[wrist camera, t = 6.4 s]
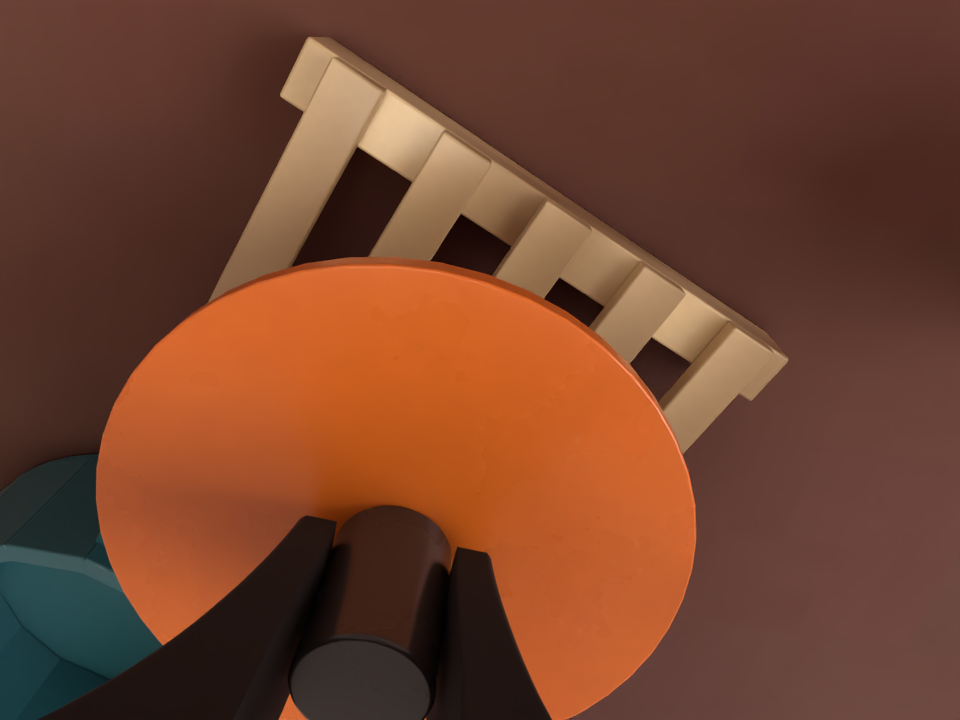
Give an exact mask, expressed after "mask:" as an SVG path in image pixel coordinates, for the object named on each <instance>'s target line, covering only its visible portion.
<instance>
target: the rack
mask: <svg viewBox="0 0 960 720" xmlns="http://www.w3.org/2000/svg"><path fill="white" fill-rule="evenodd" d="M280 96H281V97H282V98H283V99H284V100H286V101H287V102H289V103H290V104H292V105H294V106H295V107H297V108H298V109H300V110H301V111H303V112H304V113H303V115H302V117H301V119H300V121H299V123H298V125H297V127H296V129H295V131H294V133H293V135H292V137H291V139H290V141H289V142H288V144H287V146H286V148H285V150H284V152H283V154H282V156H281V158H280V160H279V162H278V164H277V166H276V168H275V170H274V172H273V174H272V176H271V178H270V180H269V182H268V184H267V186H266V188H265V190H264V192H263V194H262V196H261V198H260V200H259V202H258V204H257V206H256V208H255V210H254V212H253V214H252V216H251V218H250V220H249V222H248V224H247V226H246V228H245V230H244V232H243V234H242V236H241V238H240V240H239V242H238V243H237V245H236V247H235V249H234V251H233V253H232V255H231V257H230V259H229V261H228V263H227V265H226V267H225V269H224V271H223V273H222V275H221V277H220V279H219V281H218V283H217V285H216V287H215V289H214V291H213V293H212V295H211V297H210V299H209V301H208V303H209V302H210V301H212V300H214V299H215V298H217V297H218V296H220V295H222V294H223V293H225V292H226V291H228V290H231V289H233V288H235V287H238V286H240V285H242V284H245V283H247V282H249V281H251V280H254V279H256V278H258V277H261V276H263V275H266V274H269V273H273V272H276V271H280V270H284V269H287V268H291V267H292V265H293V263H294V261H295V259H296V257H297V256H298V254H299V252H300V250H301V248H302V246H303V245H304V243H305V241H306V239H307V237H308V236H309V234H310V232H311V230H312V228H313V226H314V225H315V223H316V221H317V219H318V217H319V215H320V214H321V212H322V210H323V208H324V206H325V204H326V203H327V201H328V199H329V197H330V195H331V194H332V192H333V190H334V188H335V186H336V184H337V183H338V181H339V179H340V177H341V175H342V173H343V172H344V170H345V168H346V166H347V164H348V163H349V161H350V159H351V157H352V155H353V153H354V152H355V150H356V148H357V147H358V148H360V149H361V150H363V151H365V152H366V153H368V154H369V155H371V156H372V157H374V158H375V159H377V160H378V161H380V162H382V163H383V164H385V165H386V166H388V167H389V168H391V169H392V170H394V171H395V172H397V173H398V174H400V175H402V176H403V177H405V178H406V179H408V180H409V181H411V182H412V184H411V186H410V187H409V189H408V191H407V192H406V194H405V196H404V197H403V199H402V201H401V202H400V204H399V206H398V207H397V209H396V211H395V212H394V214H393V216H392V218H391V219H390V221H389V223H388V224H387V226H386V228H385V229H384V231H383V233H382V234H381V236H380V238H379V239H378V241H377V243H376V244H375V246H374V248H373V249H372V251H371V253H370V254H369V256H368V257H400V258H408V259H416V260H425V261H431V259H432V258H433V256H434V255H435V253H436V251H437V250H438V248H439V247H440V245H441V244H442V242H443V240H444V239H445V237H446V236H447V234H448V233H449V231H450V229H451V228H452V226H453V225H454V223H455V222H456V220H457V218H458V217H459V215H460V214H462V215H463V216H465V217H466V218H468V219H469V220H471V221H473V222H474V223H476V224H477V225H479V226H480V227H482V228H483V229H485V230H486V231H488V232H490V233H491V234H493V235H494V236H496V237H497V238H499V239H500V240H502V241H503V242H505V243H507V244H508V245H510V246H511V248H510V250H509V251H508V253H507V254H506V255H505V257H504V258H503V260H502V261H501V263H500V264H499V266H498V267H497V269H496V270H495V272H494V273H493V274H492V276H493V277H495V278H498V279H500V280H503V281H506V282H508V283H511V284H513V285H516V286H518V287H521V288H523V289H526V290H528V291H530V292H532V293H534V294H536V295H538V296H539V297H541V298H543V299H544V298H545V296H546V295H547V293H548V292H549V291H550V289H551V288H552V287H553V285H554V284H555V283H556V281H557V280H558V278H561V279H562V280H564V281H565V282H567V283H568V284H570V285H571V286H573V287H574V288H576V289H578V290H579V291H581V292H582V293H584V294H585V295H587V296H588V297H590V298H591V299H593V300H595V301H596V302H598V303H599V304H601V305H602V306H604V308H603V310H602V311H601V312H600V313H599V315H598V316H597V317H596V319H595V320H594V321H593V322H592V324H591V325H590V326H589V328H590V329H591V330H593V331H594V332H595V333H597V334H598V335H599V336H601V337H602V338H603V339H604V340H605V341H606V342H607V343H608V344H609V345H610V346H611V347H612V348H613V349H614V350H615V351H616V352H617V353H618V354H619V355H620V356H622V357H623V358H624V359H625V360H626V361H627V362H628V363H629V364H630V363H631V361H632V360H633V359H634V358H635V357H636V355H637V354H638V353H639V352H640V350H641V349H642V348H643V347H644V346H645V344H646V343H647V342H648V341H649V340H650V338H651V337H652V338H653V339H655V340H656V341H658V342H659V343H661V344H662V345H664V346H666V347H667V348H669V349H670V350H672V351H673V352H675V353H676V354H678V355H679V356H681V357H683V358H684V359H686V360H687V361H689V362H690V363H692V364H691V365H690V366H689V367H688V369H687V370H686V371H685V372H684V373H683V374H682V375H681V377H680V378H679V379H678V380H677V381H676V382H675V384H674V385H673V386H672V387H671V388H670V389H669V390H668V392H667V393H666V394H665V395H664V396H663V397H662V399H661V400H660V401H659V402H658V404H659V405H660V407H661V409H662V411H663V412H664V414H665V416H666V418H667V420H668V421H669V423H670V425H671V427H672V429H673V431H674V434H675V436H676V439H677V441H678V444H679V447H680V449H681V452H682V455H683V453H684V452H685V451H686V450H687V449H688V448H689V447H690V446H691V445H692V444H693V443H694V441H695V440H696V439H697V438H698V437H699V436H700V435H701V434H702V433H703V432H704V431H705V430H706V428H707V427H708V426H709V425H710V424H711V423H712V422H713V421H714V420H715V419H716V418H717V416H718V415H719V414H720V413H721V412H722V411H723V410H724V409H725V408H726V407H727V406H728V405H729V403H730V402H731V401H732V400H733V399H734V398H735V397H736V396H737V395H738V394H740V395H741V396H743V397H744V398H746V399H747V400H750V401H751V400H752V399H753V398H754V397H755V396H756V395H757V394H758V393H759V392H760V391H761V390H762V389H763V388H764V387H765V386H766V384H767V383H768V382H769V381H770V380H771V379H772V378H773V377H774V376H775V375H776V374H777V373H778V372H779V371H780V369H781V368H782V367H783V366H784V365H785V364H786V363H787V362H788V360H789V359H788V357H787V356H786V355H785V354H784V353H783V352H782V350H781V349H780V348H779V347H778V346H777V345H776V343H775V342H774V341H773V340H772V339H771V338H770V336H769V335H768V334H767V333H766V332H765V331H763V330H762V329H760V328H759V327H757V326H756V325H754V324H753V323H752V322H750V321H749V320H747V319H746V318H744V317H743V316H741V315H740V314H738V313H737V312H735V311H734V310H732V309H731V308H729V307H728V306H726V305H725V304H723V303H722V302H720V301H719V300H718V299H716V298H715V297H713V296H712V295H710V294H709V293H707V292H706V291H704V290H703V289H701V288H700V287H698V286H697V285H695V284H694V283H692V282H691V281H689V280H688V279H686V278H685V277H684V276H682V275H681V274H679V273H678V272H676V271H675V270H673V269H672V268H670V267H669V266H667V265H666V264H664V263H663V262H661V261H660V260H658V259H657V258H655V257H654V256H652V255H651V254H649V253H648V252H647V251H645V250H644V249H642V248H641V247H639V246H638V245H636V244H635V243H633V242H632V241H630V240H629V239H627V238H626V237H624V236H623V235H621V234H620V233H618V232H617V231H615V230H614V229H613V228H611V227H610V226H608V225H607V224H605V223H604V222H602V221H601V220H599V219H598V218H596V217H595V216H593V215H592V214H590V213H589V212H587V211H586V210H584V209H583V208H581V207H580V206H579V205H577V204H576V203H574V202H573V201H571V200H570V199H568V198H567V197H565V196H564V195H562V194H561V193H559V192H558V191H556V190H555V189H553V188H552V187H550V186H549V185H547V184H546V183H545V182H543V181H542V180H540V179H539V178H537V177H536V176H534V175H533V174H531V173H530V172H528V171H527V170H525V169H524V168H522V167H521V166H519V165H518V164H516V163H515V162H513V161H512V160H510V159H509V158H508V157H506V156H505V155H503V154H502V153H500V152H499V151H497V150H496V149H494V148H493V147H491V146H490V145H488V144H487V143H485V142H484V141H482V140H481V139H479V138H478V137H476V136H475V135H474V134H472V133H471V132H469V131H468V130H466V129H465V128H463V127H462V126H460V125H459V124H457V123H456V122H454V121H453V120H451V119H450V118H448V117H447V116H445V115H444V114H442V113H441V112H440V111H438V110H437V109H435V108H434V107H432V106H431V105H429V104H428V103H426V102H425V101H423V100H422V99H420V98H419V97H417V96H416V95H414V94H413V93H411V92H410V91H408V90H407V89H406V88H404V87H403V86H401V85H400V84H398V83H397V82H395V81H394V80H392V79H391V78H389V77H388V76H386V75H385V74H383V73H382V72H380V71H379V70H377V69H376V68H374V67H373V66H371V65H370V64H369V63H367V62H366V61H364V60H363V59H361V58H360V57H358V56H357V55H355V54H354V53H352V52H351V51H349V50H348V49H346V48H345V47H343V46H342V45H340V44H339V43H337V42H336V41H335V40H333V39H332V38H330V37H308V38H307V39H306V41H305V43H304V45H303V48H302V50H301V52H300V54H299V56H298V58H297V60H296V62H295V64H294V66H293V68H292V70H291V72H290V74H289V76H288V78H287V80H286V83H285V85H284V87H283V89H282V91H281V93H280Z"/></svg>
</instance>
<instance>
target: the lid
mask: <svg viewBox="0 0 960 720" xmlns="http://www.w3.org/2000/svg"><path fill="white" fill-rule="evenodd" d="M96 504H97V511H98V518H99V525H100V532H101V535H102V538H103V542H104V545H105V548H106V552H107V555H108V558H109V561H110V564H111V566H112V568H113V570H114V572H115V575H116V577H117V579H118V581H119V583H120V585H121V588H122V590H123V592H124V593H125V595H126V596H127V598H128V600H129V601H130V603H131V604H132V606H133V607H134V609H135V611H136V612H137V614H138V615H139V617H140V618H141V620H142V621H143V622H144V623H145V624H146V626H147V627H148V628H149V629H150V631H151V632H152V633H153V634H154V635H155V637H156V638H157V639H158V640H159V642H160V643H161V644H162V645H164V644H166V643H167V642H169V641H170V640H171V639H173V638H174V637H175V636H177V635H178V634H179V633H181V632H182V631H184V630H185V629H186V628H187V627H189V626H190V625H191V624H193V623H194V622H195V621H196V620H198V619H199V618H200V617H201V616H203V615H204V614H205V613H206V612H208V611H209V610H210V609H211V608H212V607H213V606H214V605H216V604H217V603H218V602H219V601H220V600H221V599H223V598H224V597H225V596H226V595H227V594H228V593H229V592H231V591H232V590H233V589H234V588H235V587H236V586H237V585H238V584H240V583H241V582H242V581H243V580H244V579H245V578H246V577H247V576H248V575H249V574H250V573H251V572H252V571H253V570H254V569H255V568H256V567H257V566H258V565H259V564H260V563H261V562H262V561H263V560H264V559H265V558H266V557H267V556H268V555H269V554H270V553H271V552H272V551H273V550H274V549H275V548H276V546H277V545H278V544H279V543H280V542H281V541H282V540H283V539H284V538H285V536H286V535H287V534H288V533H289V532H290V530H291V529H292V528H293V527H294V526H295V524H296V523H297V522H298V520H299V519H300V518H302V517H304V516H306V515H308V516H313V517H318V518H323V519H328V520H332V521H337V524H336V530H335V536H334V542H333V548H332V551H331V554H330V557H329V560H328V563H327V565H326V568H325V571H324V574H323V577H322V580H321V582H320V585H319V588H318V590H317V593H316V595H315V598H314V601H313V604H312V606H311V609H310V612H309V615H308V618H307V620H306V623H305V626H304V629H303V632H302V634H301V637H300V640H299V643H298V646H297V648H296V651H295V654H294V657H293V660H292V662H291V665H290V668H289V672H288V687H289V692H290V695H289V697H288V699H287V702H286V704H285V706H284V709H283V711H282V713H281V716H280V718H279V720H426V717H427V715H428V714H429V712H430V711H431V709H432V707H433V704H434V701H435V693H436V685H437V676H438V668H439V660H440V651H441V643H442V635H443V626H444V617H445V607H446V599H447V591H448V582H449V575H450V571H451V567H452V564H453V560H454V556H455V552H456V549H457V547H462V548H467V549H471V550H476V551H481V552H486V553H488V555H489V556H490V558H491V561H492V566H493V571H494V575H495V579H496V583H497V587H498V590H499V594H500V597H501V600H502V604H503V607H504V610H505V613H506V616H507V619H508V622H509V624H510V627H511V630H512V633H513V635H514V638H515V641H516V643H517V646H518V648H519V651H520V653H521V656H522V658H523V661H524V663H525V665H526V667H527V670H528V672H529V674H530V677H531V679H532V681H533V683H534V685H535V687H536V689H537V692H538V694H539V696H540V698H541V700H542V702H543V704H544V705H545V707H546V709H547V711H548V713H549V715H550V717H551V719H552V720H567V719H569V718H571V717H573V716H575V715H577V714H579V713H581V712H583V711H584V710H586V709H587V708H589V707H590V706H592V705H594V704H595V703H597V702H598V701H600V700H601V699H603V698H604V697H606V696H607V695H609V694H610V693H611V692H612V691H613V690H615V689H616V688H617V687H618V686H620V685H621V684H622V683H623V682H624V681H626V680H627V679H628V678H629V677H630V676H631V675H632V674H633V673H634V672H635V671H636V670H637V669H638V668H639V667H640V666H641V665H642V663H643V662H644V661H645V660H646V659H647V658H648V657H649V656H650V655H651V654H652V652H653V651H654V650H655V648H656V647H657V645H658V644H659V642H660V641H661V639H662V638H663V636H664V635H665V634H666V632H667V631H668V629H669V628H670V626H671V624H672V621H673V619H674V617H675V615H676V613H677V611H678V609H679V607H680V605H681V603H682V601H683V598H684V595H685V592H686V588H687V585H688V582H689V579H690V575H691V572H692V567H693V560H694V553H695V545H696V505H695V500H694V495H693V490H692V485H691V480H690V475H689V471H688V468H687V465H686V463H685V460H684V457H683V455H682V452H681V449H680V447H679V444H678V441H677V439H676V436H675V434H674V431H673V429H672V427H671V425H670V423H669V421H668V420H667V418H666V416H665V414H664V412H663V411H662V409H661V407H660V405H659V404H658V402H657V400H656V398H655V396H654V395H653V394H652V392H651V391H650V390H649V388H648V387H647V386H646V385H645V383H644V382H643V381H642V379H641V378H640V377H639V376H638V374H637V373H636V372H635V370H634V369H633V368H632V367H631V365H630V364H629V363H628V362H627V361H626V360H625V359H624V358H623V357H622V356H620V355H619V354H618V353H617V352H616V351H615V350H614V349H613V348H612V347H611V346H610V345H609V344H608V343H607V342H606V341H605V340H604V339H603V338H602V337H601V336H599V335H598V334H597V333H595V332H594V331H593V330H591V329H590V328H589V327H587V326H586V325H584V324H583V323H582V322H580V321H579V320H578V319H576V318H575V317H574V316H572V315H571V314H569V313H568V312H567V311H565V310H563V309H561V308H559V307H558V306H556V305H554V304H552V303H550V302H548V301H547V300H545V299H543V298H541V297H539V296H538V295H536V294H534V293H532V292H530V291H528V290H526V289H523V288H521V287H518V286H516V285H513V284H511V283H508V282H506V281H503V280H500V279H498V278H495V277H493V276H490V275H488V274H485V273H481V272H477V271H473V270H469V269H465V268H461V267H457V266H453V265H449V264H445V263H441V262H433V261H425V260H416V259H408V258H400V257H348V258H341V259H334V260H326V261H319V262H312V263H305V264H302V265H298V266H294V267H291V268H287V269H284V270H280V271H276V272H273V273H269V274H266V275H263V276H261V277H258V278H256V279H254V280H251V281H249V282H247V283H245V284H242V285H240V286H238V287H235V288H233V289H231V290H228V291H226V292H225V293H223V294H222V295H220V296H218V297H217V298H215V299H214V300H212V301H210V302H209V303H207V304H206V305H204V306H202V307H201V308H199V309H198V310H196V311H194V312H193V313H192V314H191V315H189V316H188V317H187V318H186V319H185V320H184V321H182V322H181V323H180V324H179V325H178V326H177V327H175V328H174V329H173V330H172V331H171V332H170V333H168V334H167V335H166V336H165V337H164V338H163V339H162V340H160V341H159V342H158V343H157V344H156V345H155V346H154V347H153V348H152V349H151V351H150V352H149V353H148V354H147V355H146V357H145V358H144V359H143V360H142V361H141V363H140V364H139V365H138V366H137V367H136V369H135V370H134V371H133V372H132V374H131V375H130V377H129V379H128V381H127V382H126V384H125V386H124V387H123V389H122V391H121V393H120V394H119V396H118V398H117V400H116V401H115V403H114V406H113V408H112V411H111V414H110V416H109V419H108V422H107V424H106V427H105V430H104V433H103V436H102V441H101V447H100V452H99V457H98V463H97V468H96Z"/></svg>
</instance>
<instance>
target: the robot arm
mask: <svg viewBox="0 0 960 720" xmlns="http://www.w3.org/2000/svg"><path fill="white" fill-rule="evenodd" d="M336 524H337V521H332V520H328V519H323V518H318V517H313V516H308V515H306V516H304V517H302V518H300V519H299V520H298V522H297V523H296V524H295V526H294V527H293V528H292V529H291V530H290V532H289V533H288V534H287V535H286V536H285V538H284V539H283V540H282V541H281V542H280V543H279V544H278V545H277V546H276V548H275V549H274V550H273V551H272V552H271V553H270V554H269V555H268V556H267V557H266V558H265V559H264V560H263V561H262V562H261V563H260V564H259V565H258V566H257V567H256V568H255V569H254V570H253V571H252V572H251V573H250V574H249V575H248V576H247V577H246V578H245V579H244V580H243V581H242V582H241V583H240V584H238V585H237V586H236V587H235V588H234V589H233V590H232V591H231V592H229V593H228V594H227V595H226V596H225V597H224V598H223V599H221V600H220V601H219V602H218V603H217V604H216V605H214V606H213V607H212V608H211V609H210V610H209V611H208V612H206V613H205V614H204V615H203V616H201V617H200V618H199V619H198V620H196V621H195V622H194V623H193V624H191V625H190V626H189V627H187V628H186V629H185V630H184V631H182V632H181V633H179V634H178V635H177V636H175V637H174V638H173V639H171V640H170V641H169V642H167V643H166V644H164V645H163V646H162V647H160V648H159V649H157V650H156V651H154V652H153V653H151V654H150V655H148V656H147V657H145V658H144V659H142V660H141V661H139V662H138V663H136V664H135V665H133V666H132V667H130V668H129V669H127V670H125V671H124V672H122V673H121V674H119V675H117V676H116V677H114V678H112V679H111V680H109V681H107V682H106V683H104V684H102V685H100V686H98V687H97V688H95V689H93V690H91V691H89V692H88V693H86V694H84V695H82V696H81V697H79V698H77V699H75V700H73V701H72V702H70V703H68V704H66V705H64V706H63V707H61V708H59V709H57V710H55V711H53V712H51V713H49V714H47V715H45V716H43V717H41V718H39V719H37V720H279V718H280V716H281V713H282V711H283V709H284V706H285V704H286V702H287V699H288V697H289V695H290V692H289V687H288V672H289V668H290V665H291V662H292V660H293V657H294V654H295V651H296V648H297V646H298V643H299V640H300V637H301V634H302V632H303V629H304V626H305V623H306V620H307V618H308V615H309V612H310V609H311V606H312V604H313V601H314V598H315V595H316V593H317V590H318V588H319V585H320V582H321V580H322V577H323V574H324V571H325V568H326V565H327V563H328V560H329V557H330V554H331V551H332V548H333V542H334V536H335V530H336ZM426 720H552V719H551V717H550V715H549V713H548V711H547V709H546V707H545V705H544V704H543V702H542V700H541V698H540V696H539V694H538V692H537V689H536V687H535V685H534V683H533V681H532V679H531V677H530V674H529V672H528V670H527V667H526V665H525V663H524V661H523V658H522V656H521V653H520V651H519V648H518V646H517V643H516V641H515V638H514V635H513V633H512V630H511V627H510V624H509V622H508V619H507V616H506V613H505V610H504V607H503V604H502V600H501V597H500V594H499V590H498V587H497V583H496V579H495V575H494V571H493V566H492V561H491V558H490V556H489V555H488V553H486V552H481V551H476V550H471V549H467V548H462V547H457V549H456V552H455V556H454V560H453V564H452V567H451V571H450V575H449V582H448V591H447V599H446V607H445V617H444V626H443V635H442V643H441V651H440V660H439V668H438V676H437V685H436V693H435V701H434V704H433V707H432V709H431V711H430V712H429V714H428V715H427V717H426Z"/></svg>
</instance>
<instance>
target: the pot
mask: <svg viewBox="0 0 960 720" xmlns="http://www.w3.org/2000/svg"><path fill="white" fill-rule="evenodd" d="M98 457H99V454H88V455H79V456H70V457H65V458H61V459H57V460H53V461H49V462H47V463H44V464H42V465H39V466H37V467H34V468H32V469H31V470H29V471H27V472H25V473H24V474H22V475H20V476H19V477H18V478H16V479H15V480H14V481H13V482H12V483H10V484H9V485H8V486H7V487H5V488H4V489H2V490H1V491H0V720H37V719H39V718H41V717H43V716H45V715H47V714H49V713H51V712H53V711H55V710H57V709H59V708H61V707H63V706H64V705H66V704H68V703H70V702H72V701H73V700H75V699H77V698H79V697H81V696H82V695H84V694H86V693H88V692H89V691H91V690H93V689H95V688H97V687H98V686H100V685H102V684H104V683H106V682H107V681H109V680H111V679H112V678H114V677H116V676H117V675H119V674H121V673H122V672H124V671H125V670H127V669H129V668H130V667H132V666H133V665H135V664H136V663H138V662H139V661H141V660H142V659H144V658H145V657H147V656H148V655H150V654H151V653H153V652H154V651H156V650H157V649H159V648H160V647H162V646H163V645H162V644H161V643H160V642H159V640H158V639H157V638H156V637H155V635H154V634H153V633H152V632H151V631H150V629H149V628H148V627H147V626H146V624H145V623H144V622H143V621H142V620H141V618H140V617H139V615H138V614H137V612H136V611H135V609H134V607H133V606H132V604H131V603H130V601H129V600H128V598H127V596H126V595H125V593H124V592H123V590H122V588H121V585H120V583H119V581H118V579H117V577H116V575H115V572H114V570H113V568H112V566H111V564H110V561H109V558H108V555H107V552H106V548H105V545H104V542H103V538H102V535H101V532H100V525H99V518H98V511H97V504H96V468H97V463H98Z"/></svg>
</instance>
